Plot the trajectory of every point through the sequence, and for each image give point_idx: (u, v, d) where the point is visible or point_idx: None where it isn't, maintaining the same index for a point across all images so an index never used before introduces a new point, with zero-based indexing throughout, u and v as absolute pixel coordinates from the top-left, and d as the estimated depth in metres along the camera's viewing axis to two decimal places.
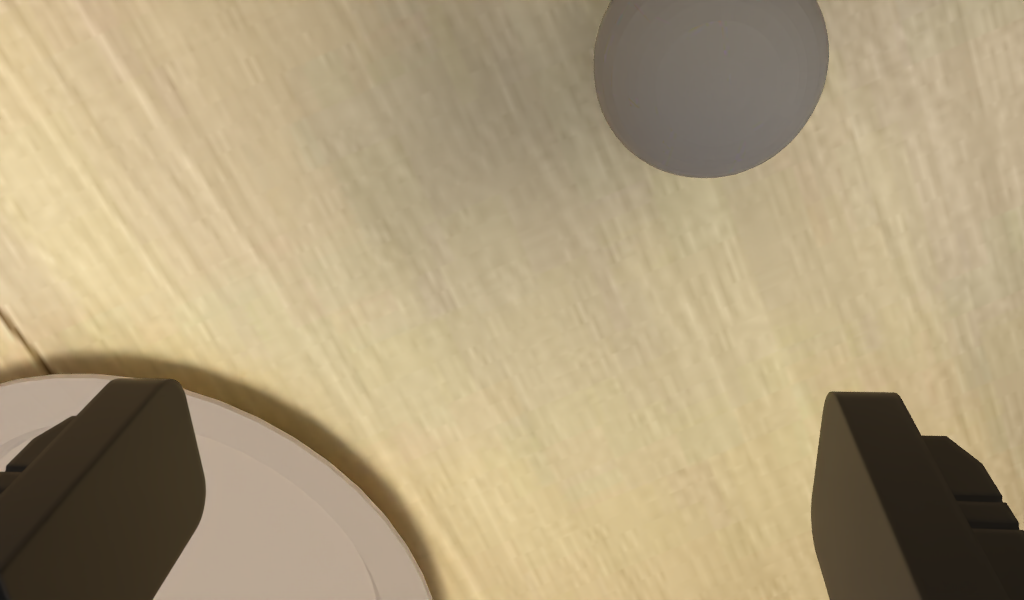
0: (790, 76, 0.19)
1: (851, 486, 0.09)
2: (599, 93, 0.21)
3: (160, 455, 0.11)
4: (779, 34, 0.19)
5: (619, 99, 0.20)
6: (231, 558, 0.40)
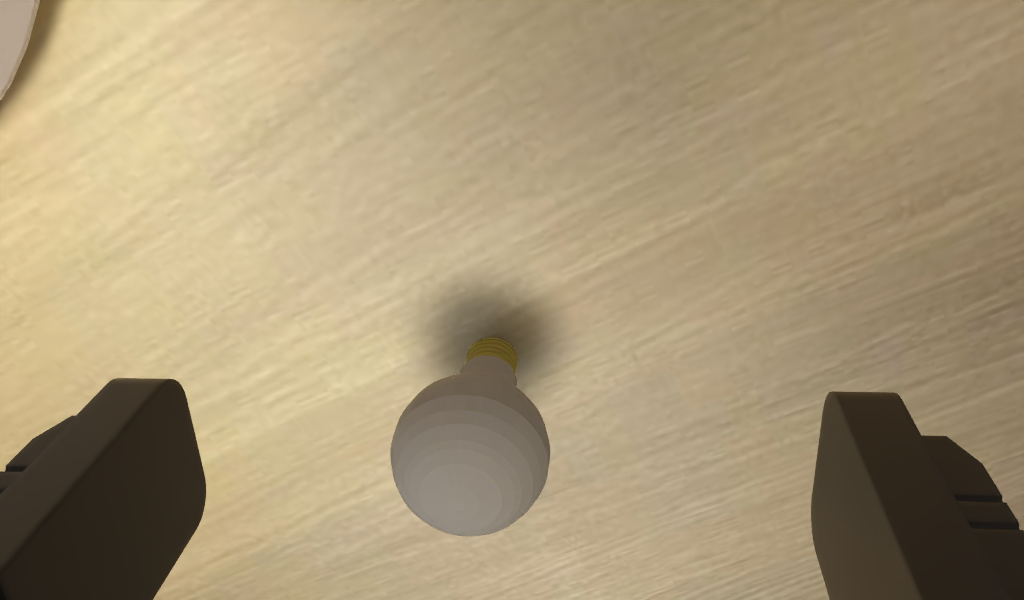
0: (471, 532, 0.30)
1: (851, 486, 0.09)
2: (442, 403, 0.29)
3: (160, 455, 0.11)
4: (496, 524, 0.29)
5: (440, 431, 0.29)
6: None
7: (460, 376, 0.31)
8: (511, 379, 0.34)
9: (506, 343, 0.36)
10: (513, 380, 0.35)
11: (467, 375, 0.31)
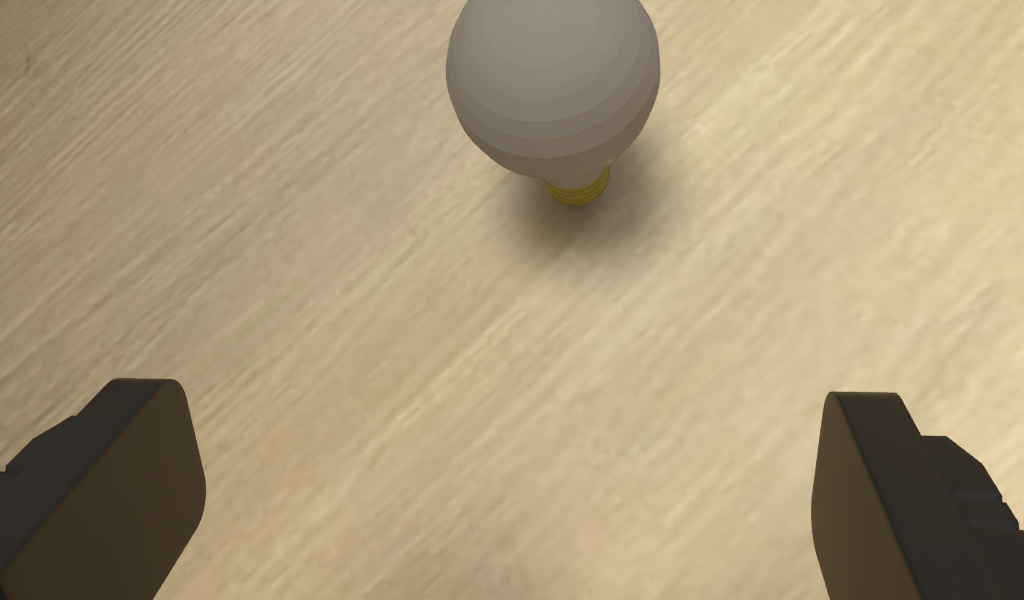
0: None
1: (851, 486, 0.09)
2: (604, 132, 0.21)
3: (160, 455, 0.11)
4: None
5: (593, 98, 0.21)
6: None
7: (595, 168, 0.23)
8: None
9: (564, 203, 0.29)
10: None
11: (587, 171, 0.23)
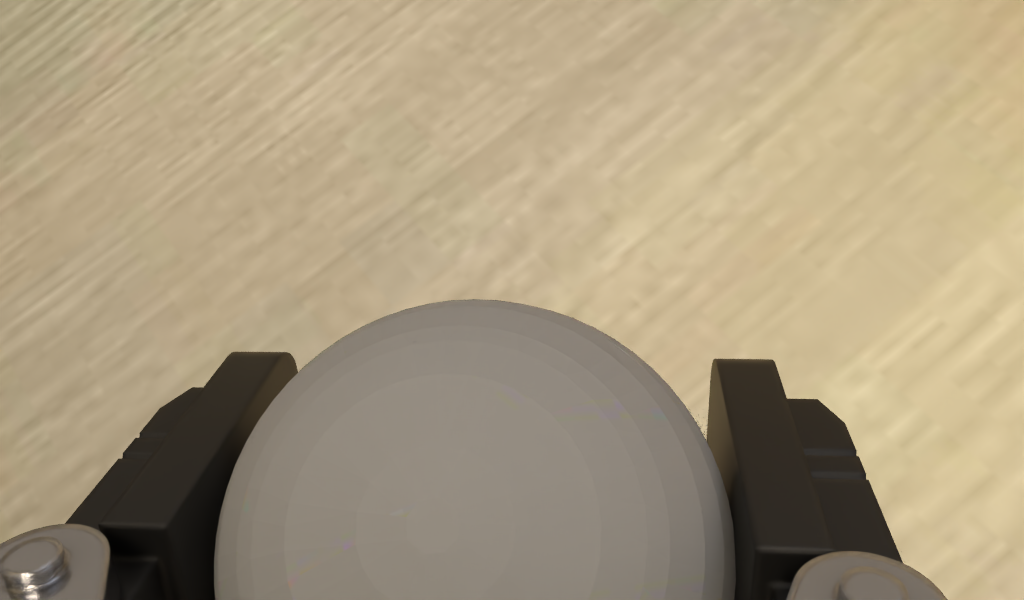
0: (385, 370, 0.08)
1: (722, 443, 0.10)
2: None
3: None
4: (302, 430, 0.08)
5: None
6: None
7: None
8: None
9: None
10: None
11: None
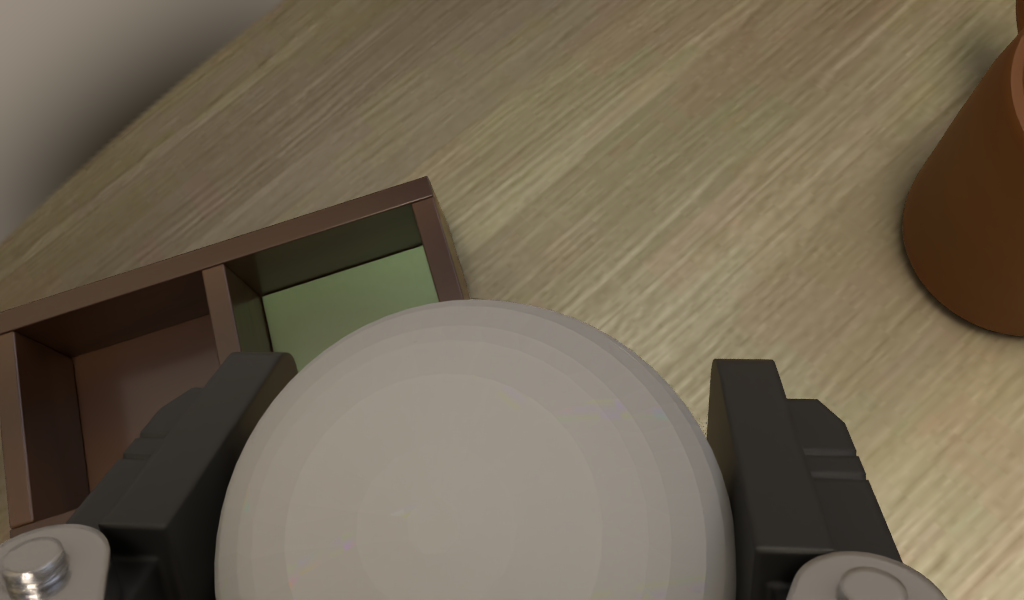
0: (386, 371, 0.08)
1: (722, 443, 0.10)
2: None
3: None
4: (302, 430, 0.08)
5: None
6: None
7: None
8: None
9: None
10: None
11: None
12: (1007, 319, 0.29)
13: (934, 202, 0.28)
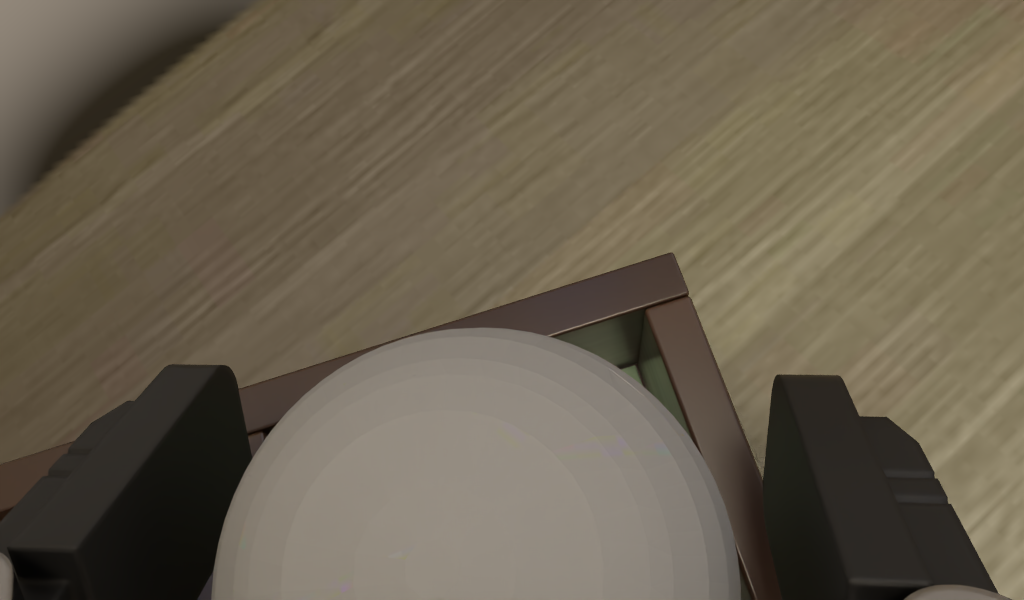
0: (384, 405, 0.08)
1: (792, 464, 0.10)
2: None
3: (214, 439, 0.11)
4: (299, 467, 0.08)
5: None
6: None
7: None
8: None
9: None
10: None
11: None
12: None
13: None
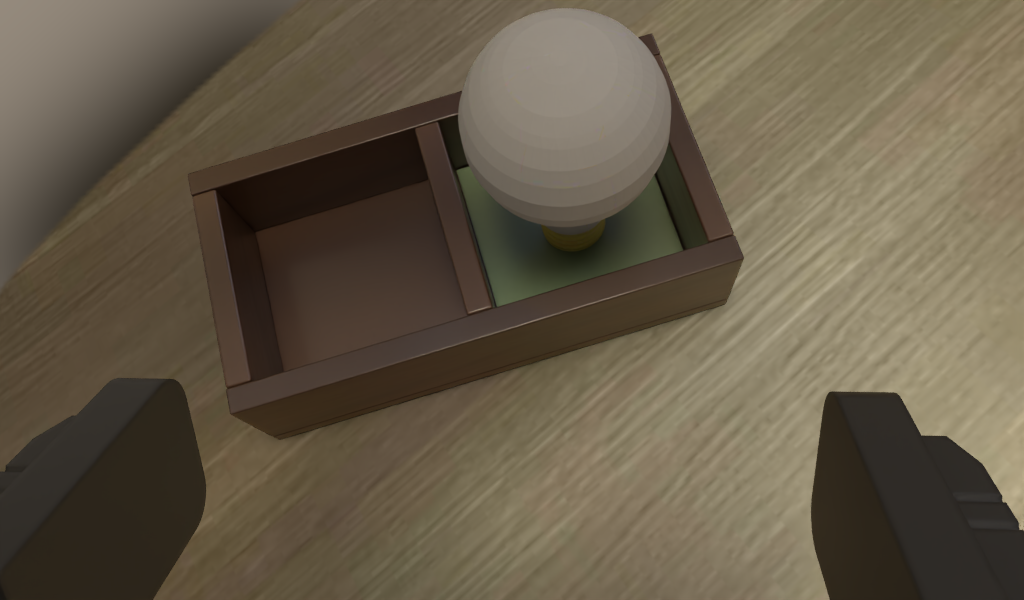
0: (536, 20, 0.22)
1: (850, 486, 0.09)
2: (613, 186, 0.22)
3: (160, 455, 0.11)
4: (505, 41, 0.22)
5: (606, 152, 0.21)
6: None
7: (600, 219, 0.23)
8: None
9: (559, 248, 0.29)
10: None
11: (591, 222, 0.23)
12: None
13: None
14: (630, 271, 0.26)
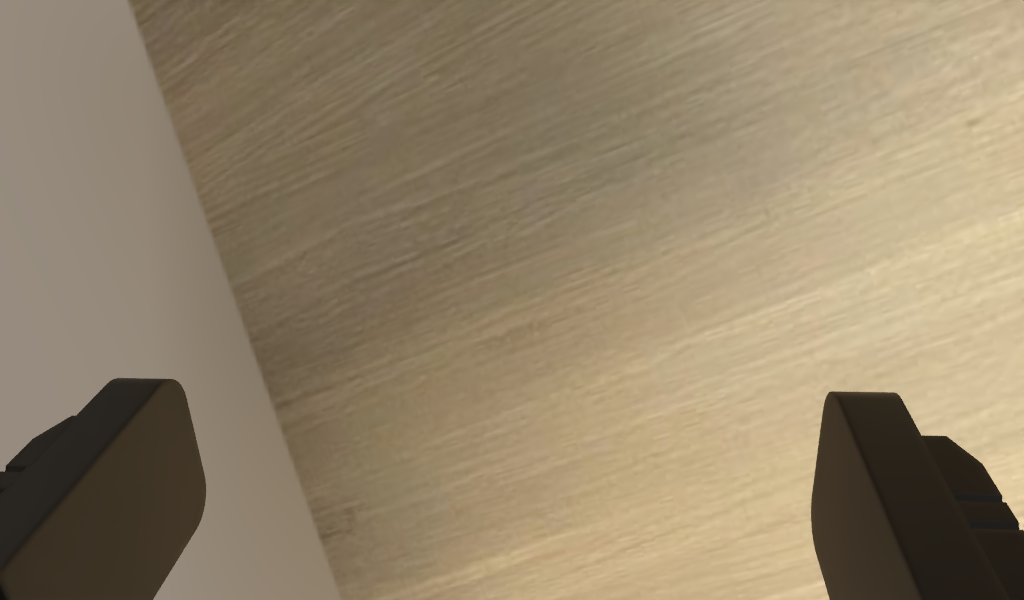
0: None
1: (851, 486, 0.09)
2: None
3: (160, 455, 0.11)
4: None
5: None
6: None
7: None
8: None
9: None
10: None
11: None
12: None
13: None
14: None
